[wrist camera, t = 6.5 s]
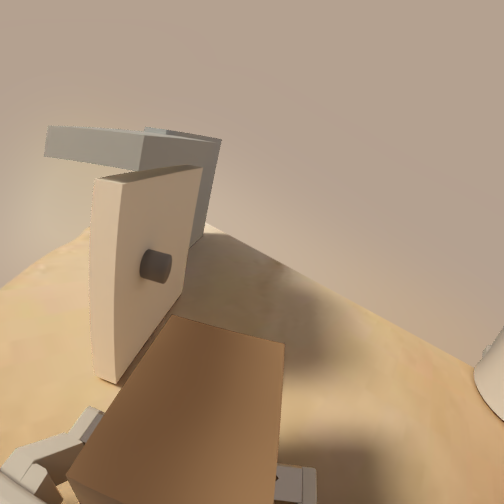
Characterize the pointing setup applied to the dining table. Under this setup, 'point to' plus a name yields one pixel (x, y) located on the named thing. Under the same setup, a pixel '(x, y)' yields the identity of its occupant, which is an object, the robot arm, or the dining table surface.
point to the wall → (140, 154)
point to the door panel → (136, 258)
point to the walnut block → (189, 423)
